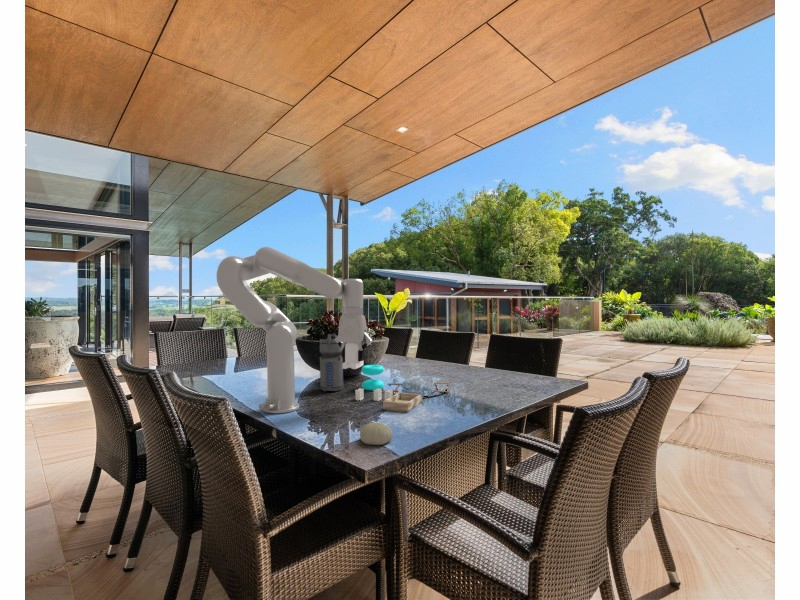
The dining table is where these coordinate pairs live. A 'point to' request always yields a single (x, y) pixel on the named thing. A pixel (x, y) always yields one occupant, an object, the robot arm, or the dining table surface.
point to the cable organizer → (352, 356)
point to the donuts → (372, 383)
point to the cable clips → (377, 394)
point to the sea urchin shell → (376, 434)
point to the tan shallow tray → (402, 402)
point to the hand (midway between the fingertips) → (353, 360)
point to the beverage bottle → (331, 364)
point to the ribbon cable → (422, 397)
